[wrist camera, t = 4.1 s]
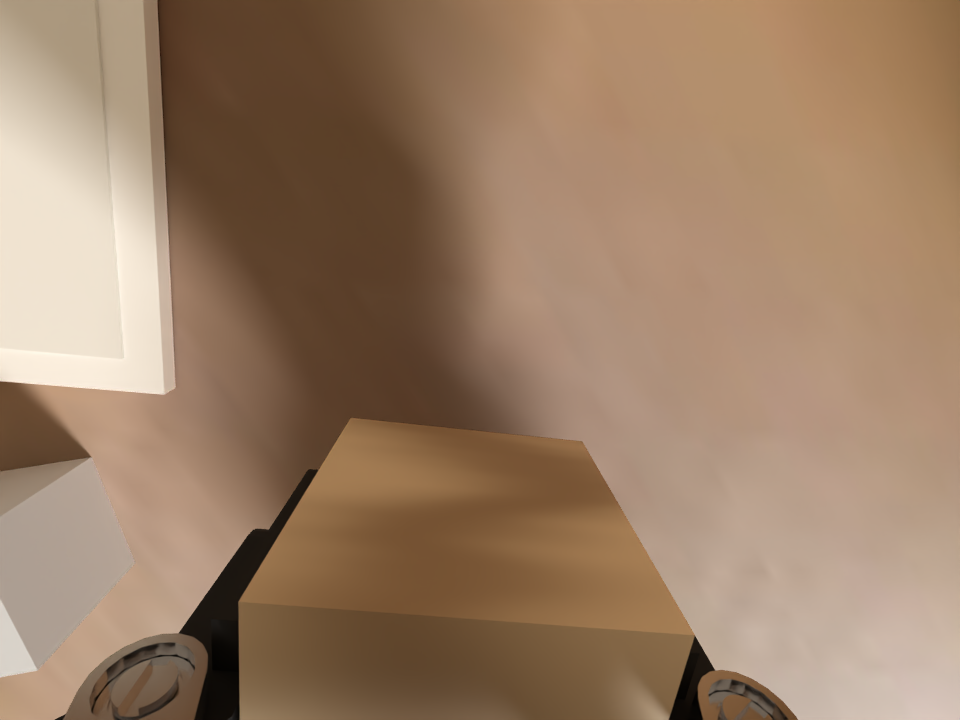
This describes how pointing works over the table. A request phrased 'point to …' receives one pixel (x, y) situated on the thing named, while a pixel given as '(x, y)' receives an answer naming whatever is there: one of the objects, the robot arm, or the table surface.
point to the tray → (83, 197)
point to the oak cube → (458, 589)
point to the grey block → (53, 557)
